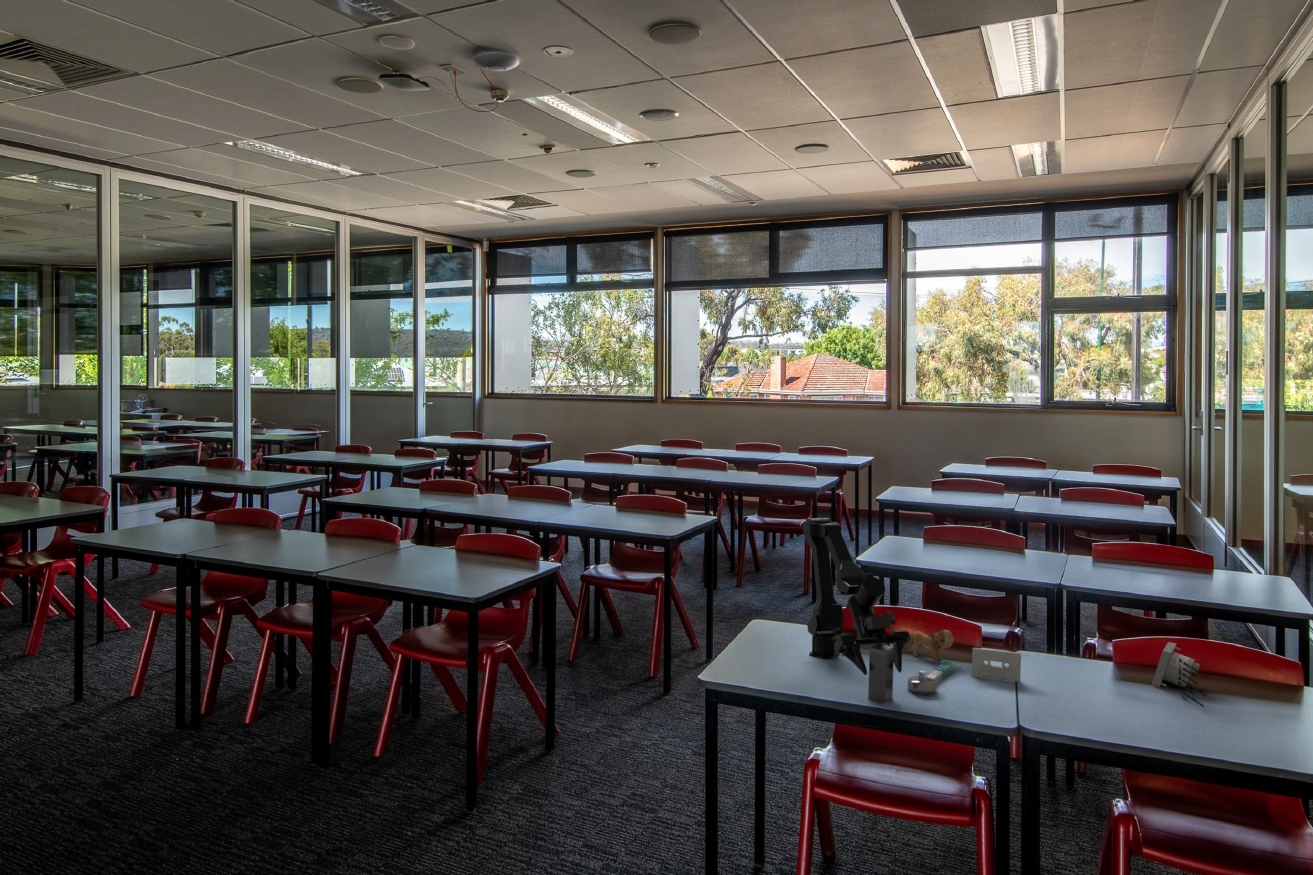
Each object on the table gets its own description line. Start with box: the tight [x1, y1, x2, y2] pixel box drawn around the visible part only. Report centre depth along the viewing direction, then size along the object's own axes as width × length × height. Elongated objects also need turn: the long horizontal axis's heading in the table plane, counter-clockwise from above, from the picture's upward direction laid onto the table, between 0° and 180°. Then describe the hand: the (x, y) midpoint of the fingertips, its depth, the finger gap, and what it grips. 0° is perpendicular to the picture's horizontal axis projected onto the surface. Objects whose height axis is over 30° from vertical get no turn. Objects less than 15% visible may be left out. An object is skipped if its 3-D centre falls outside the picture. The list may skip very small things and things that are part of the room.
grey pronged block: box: [1151, 641, 1210, 708], centre depth 209 cm, size 27×11×10 cm, turn 176°
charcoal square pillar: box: [867, 643, 894, 704], centre depth 205 cm, size 4×4×13 cm
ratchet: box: [907, 660, 955, 697], centre depth 218 cm, size 7×24×5 cm, turn 142°
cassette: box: [970, 647, 1022, 683], centre depth 220 cm, size 12×2×8 cm, turn 69°
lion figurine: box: [902, 629, 954, 663], centre depth 236 cm, size 15×5×9 cm, turn 46°
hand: (883, 672), depth 204 cm, fingers open, 9 cm apart
